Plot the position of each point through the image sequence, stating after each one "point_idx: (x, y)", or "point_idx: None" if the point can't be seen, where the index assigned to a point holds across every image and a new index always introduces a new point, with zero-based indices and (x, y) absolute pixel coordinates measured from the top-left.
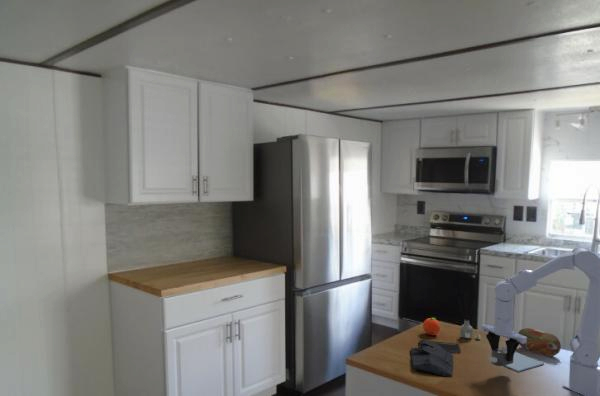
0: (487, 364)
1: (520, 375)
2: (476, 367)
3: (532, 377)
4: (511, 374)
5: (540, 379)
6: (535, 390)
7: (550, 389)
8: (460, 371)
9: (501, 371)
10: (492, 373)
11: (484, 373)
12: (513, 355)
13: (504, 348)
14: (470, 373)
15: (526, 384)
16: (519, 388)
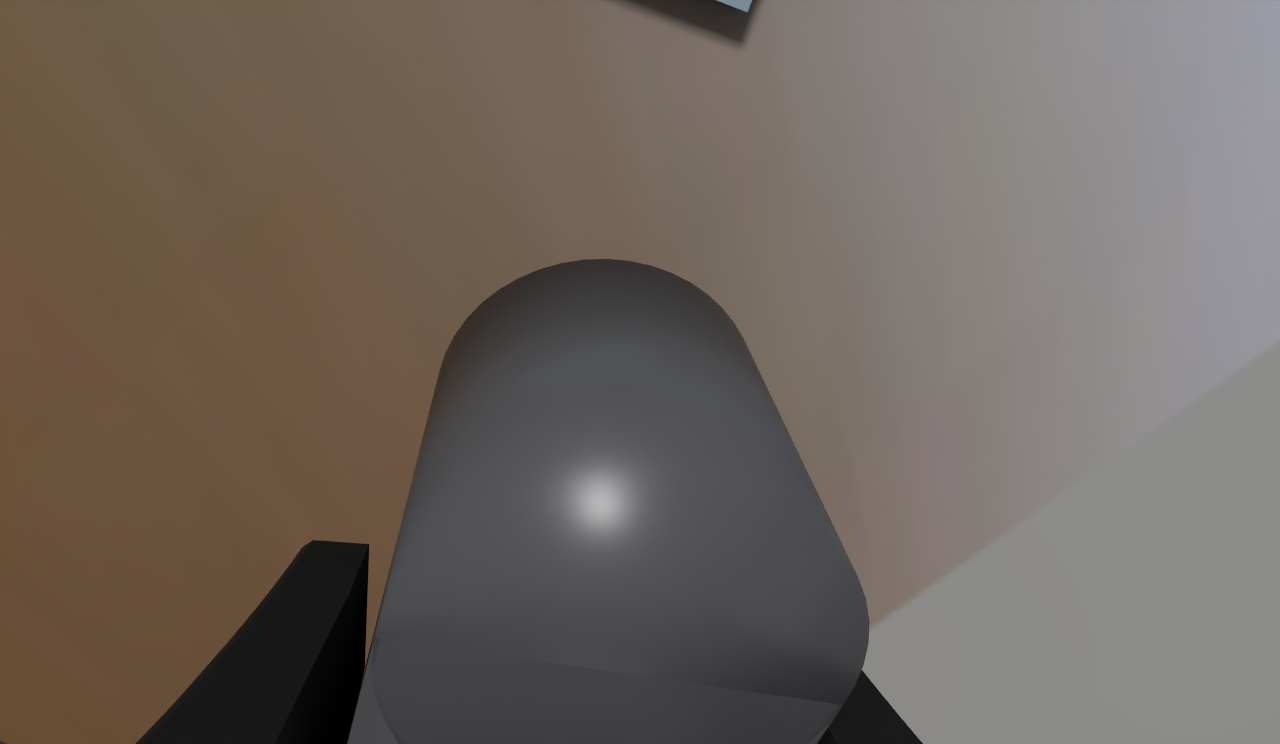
0: (74, 95)
1: (809, 147)
2: (76, 410)
3: (1017, 62)
4: (664, 231)
5: (1157, 41)
6: (1056, 497)
7: (1258, 328)
8: (68, 689)
9: (475, 238)
10: (410, 432)
11: (327, 518)
12: (859, 675)
13: (515, 670)
14: (200, 649)
15: (939, 418)
16: (871, 581)
